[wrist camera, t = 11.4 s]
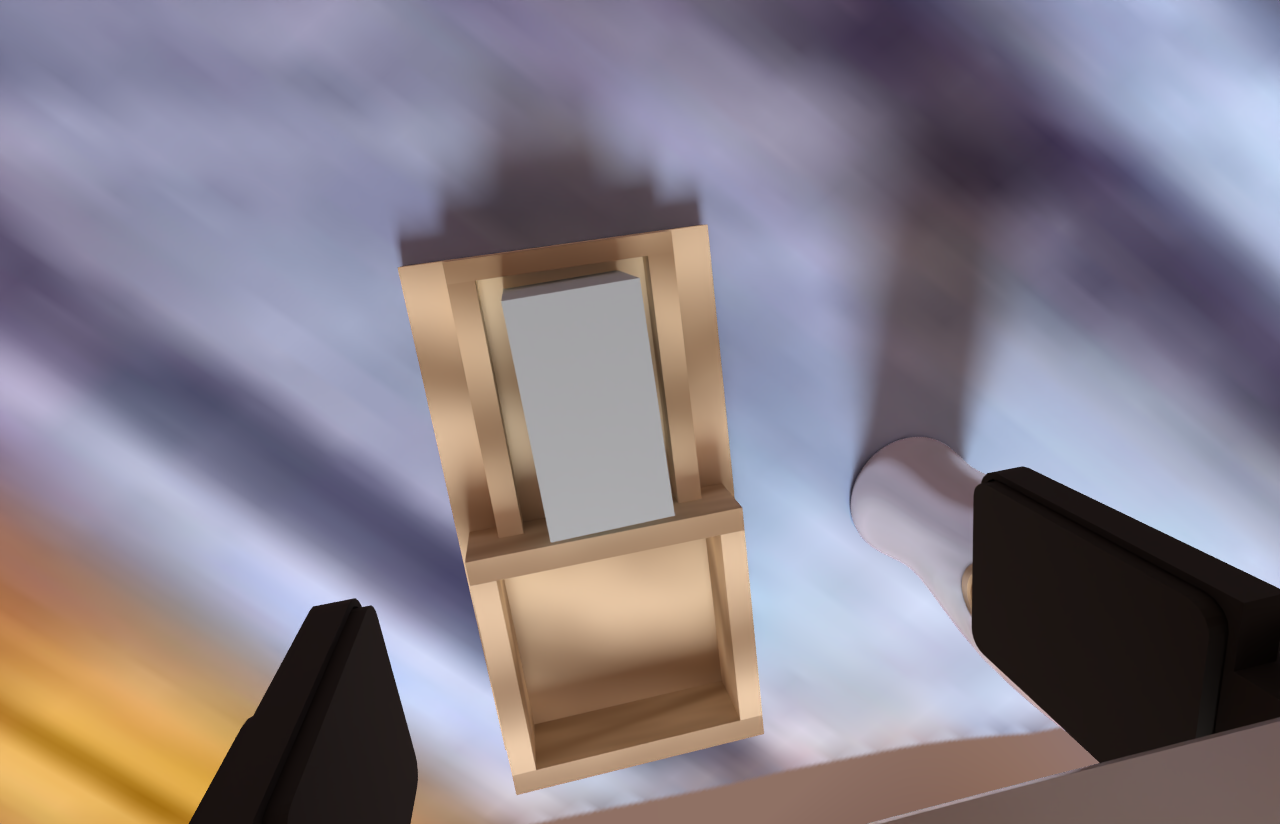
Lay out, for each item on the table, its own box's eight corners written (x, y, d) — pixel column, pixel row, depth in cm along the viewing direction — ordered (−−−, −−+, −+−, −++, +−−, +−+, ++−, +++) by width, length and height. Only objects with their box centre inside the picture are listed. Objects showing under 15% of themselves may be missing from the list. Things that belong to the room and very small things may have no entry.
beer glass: (884, 586, 34) (1147, 837, 20) (814, 487, 32) (1053, 689, 18) (994, 502, 34) (1338, 694, 20) (931, 397, 32) (1265, 528, 18)
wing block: (503, 289, 26) (501, 301, 22) (617, 270, 27) (639, 277, 22) (544, 491, 29) (550, 542, 24) (648, 469, 29) (674, 515, 24)
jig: (402, 266, 27) (384, 271, 23) (699, 224, 28) (728, 223, 24) (505, 731, 33) (504, 797, 29) (745, 675, 34) (774, 731, 30)
